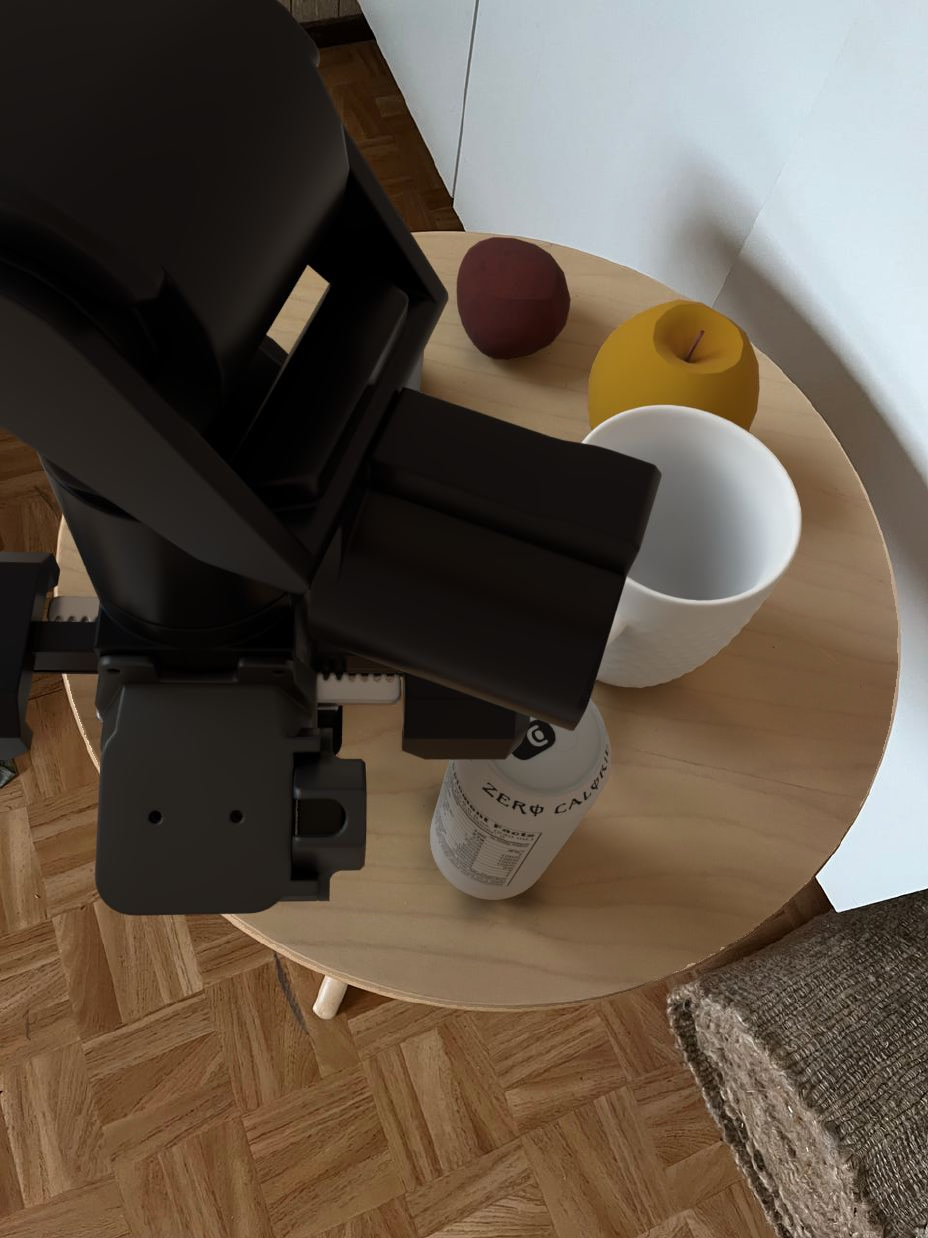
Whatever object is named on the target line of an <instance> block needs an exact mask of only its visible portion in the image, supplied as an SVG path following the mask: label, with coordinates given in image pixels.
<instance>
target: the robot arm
mask: <svg viewBox="0 0 928 1238" xmlns="http://www.w3.org/2000/svg"><path fill="white" fill-rule="evenodd" d="M320 62H321V56H320V50H319V48H318V46H317V43H316V42H315V41H314V39H313V38H312V37H311V36H310V34H309V33H308V32H307V31H306V30H305V29H304V27H303V26H302V25H301V23H299V21H298V19H296V17H294V15H293V14H292V13H291V12H290V10H289V9H288V8H287V7H286V6H285V5H284V4H283V3H281V1H279V0H0V429H2V430H4V431H5V432H6V433H8V434H9V435H10V436H12V437H13V438H15V439H17V440H18V441H20V442H21V443H23V444H24V445H26V446H27V447H28V448H30V449H32V450H33V451H34V452H36V454H37V457H38V459H39V461H40V464H41V466H42V468H43V471H44V473H45V476H46V478H47V480H48V483H49V485H50V488H51V490H52V492H53V494H54V497H55V499H56V502H57V504H58V506H59V509H60V511H61V515H62V516H63V519H64V520H65V523H66V526H67V527H68V530H69V533H70V536H71V537H72V540H73V542H74V544H75V547H76V549H77V552H78V554H79V556H80V559H81V561H82V563H83V566H84V568H85V570H86V573H87V575H88V578H89V580H90V582H91V585H92V587H93V589H94V592H95V594H96V596H91V595H90V596H86V595H85V596H84V595H83V596H82V595H57V596H53V597H52V598H50V600H49V602H48V605H47V612H46V619H47V620H43V619H44V613H45V606H46V602H47V596H48V592H50V591H51V590H53V589H54V588H56V587H58V586H59V582H60V575H61V568H60V565H59V562H58V561H57V559H56V557H55V555H54V553H53V552H42V551H41V552H39V551H37V552H36V551H35V552H33V551H0V761H11V760H13V759H16V758H18V757H20V756H22V755H24V754H26V753H29V752H31V749H32V744H33V738H34V731H33V729H32V728H31V726H30V725H29V723H27V720H26V719H27V712H28V708H29V707H28V706H29V700H30V694H31V688H32V683H33V677H34V675H97V682H96V689H95V697H94V706H95V708H96V710H95V717H96V719H97V721H98V722H99V724H101V733H100V734H101V735H100V742H99V751H100V753H101V754H100V763H99V778H98V779H99V780H98V781H99V782H98V799H97V800H98V802H97V822H96V823H97V825H96V841H95V842H96V843H95V845H96V846H95V865H94V882H95V887H96V890H97V893H98V895H99V897H100V899H101V900H102V902H103V903H104V904H105V905H106V906H107V907H108V908H110V909H111V910H113V911H114V912H117V913H118V914H121V915H125V916H135V917H138V916H139V917H140V916H142V917H143V916H144V917H145V916H148V917H149V916H150V917H151V916H194V915H195V916H198V915H199V916H201V915H205V916H206V915H249V914H250V915H251V914H258V913H262V912H264V911H267V910H269V909H271V908H272V907H274V906H275V905H276V904H277V903H291V902H293V903H294V902H296V903H297V902H303V903H304V902H330V901H331V899H330V898H331V897H330V896H331V879H332V877H333V876H334V875H335V874H337V873H338V872H347V871H349V872H350V871H351V872H352V871H353V872H354V871H361V870H362V869H363V868H364V867H365V866H366V865H365V864H366V853H367V851H366V850H367V828H368V827H367V826H368V825H367V821H368V820H367V819H368V818H367V816H368V815H367V814H368V810H367V809H368V785H367V784H368V783H367V782H368V781H367V764H366V762H365V761H364V760H363V759H362V758H343V757H342V758H341V757H339V756H338V754H339V753H340V751H341V749H342V746H343V731H344V730H343V729H344V728H343V727H344V726H343V725H344V724H343V723H344V707H346V706H347V707H352V706H353V707H394V706H397V705H398V704H400V702H401V699H402V711H403V712H402V728H401V752H403V753H407V754H409V755H412V756H415V757H417V758H419V759H422V760H426V761H427V760H429V761H433V760H434V761H435V760H437V761H439V760H441V761H442V760H443V761H445V760H446V761H447V760H449V761H450V760H505V759H506V758H507V757H508V756H509V755H510V754H511V753H512V752H513V751H514V750H515V749H516V748H517V747H518V746H519V745H520V744H521V743H522V741H523V738H524V736H525V734H526V732H527V730H528V727H529V725H530V717H532V718H535V719H538V720H541V721H544V722H547V723H549V724H552V725H555V726H558V727H561V728H563V729H566V730H569V731H574V729H575V728H576V727H577V725H578V724H579V722H580V720H581V718H582V716H583V715H584V713H585V711H586V708H587V706H588V703H589V700H590V699H591V697H592V694H593V690H594V688H595V685H596V681H597V680H596V678H597V674H598V671H599V668H600V664H601V661H602V658H603V654H604V651H605V648H606V644H607V641H608V638H609V634H610V631H611V628H612V624H613V621H614V618H615V615H616V611H617V608H618V605H619V601H620V598H621V595H622V591H623V588H624V585H625V581H626V578H627V575H628V573H629V571H630V569H631V567H632V565H633V563H634V561H635V559H636V557H637V555H638V553H639V551H640V548H641V545H642V541H643V538H644V535H645V531H646V528H647V525H648V521H649V518H650V515H651V511H652V508H653V504H654V501H655V498H656V494H657V491H658V488H659V484H660V481H661V478H662V473H661V472H660V471H659V469H658V468H657V466H656V465H654V464H652V463H649V462H646V461H643V460H640V459H637V458H634V457H631V456H628V455H625V454H622V453H619V452H616V451H613V450H610V449H607V448H603V447H600V446H596V445H591V444H585V443H582V442H578V441H572V440H566V439H562V438H558V437H555V436H551V435H548V434H544V433H542V432H539V431H536V430H533V429H531V428H527V427H524V426H521V425H518V424H515V423H513V422H509V421H506V420H503V419H501V418H498V417H494V416H493V415H489V414H486V413H483V412H480V411H477V410H475V409H471V408H468V407H465V406H463V405H459V404H456V403H453V402H451V401H448V400H445V399H442V398H440V397H437V396H434V395H431V394H428V393H425V392H421V384H422V383H421V382H422V374H423V366H424V358H425V357H424V356H425V349H426V346H428V343H429V341H430V339H431V337H432V335H433V333H434V330H435V329H436V326H437V324H438V322H439V321H440V318H441V316H442V313H443V312H444V310H445V308H446V305H447V304H448V302H449V298H450V297H449V292H448V290H447V288H446V287H445V285H444V283H443V282H442V280H441V279H440V277H439V275H438V274H437V272H436V271H435V269H434V268H433V266H432V264H431V262H430V260H429V259H428V258H427V256H426V255H425V253H424V250H422V248H421V247H420V245H419V243H418V242H417V240H416V238H415V237H414V235H413V233H412V232H411V230H410V229H409V227H408V225H407V224H406V223H405V221H404V215H403V214H402V213H401V212H400V210H399V209H398V208H397V207H396V206H395V204H394V203H393V201H392V200H391V198H390V197H389V194H388V193H387V191H386V189H384V187H383V185H382V184H381V182H380V181H379V179H378V177H377V176H376V174H375V172H374V170H373V169H372V167H371V166H370V164H369V162H368V161H367V160H366V157H365V156H364V155H363V152H362V151H361V150H360V148H359V146H358V144H357V143H356V141H355V140H354V137H352V135H351V133H350V132H349V130H348V128H347V127H346V125H345V124H344V122H343V120H342V118H341V115H340V113H339V111H338V109H337V107H336V104H335V103H334V101H333V98H332V96H331V94H330V91H329V89H328V87H327V85H326V83H325V80H324V79H323V76H322V74H321V71H320V70H319V68H318V67H319V65H320ZM307 267H309V268H311V269H312V270H313V272H315V273H316V274H318V275H319V276H320V277H321V278H322V279H323V280H324V281H326V283H328V285H327V286H326V288H325V290H324V292H323V294H322V295H321V297H320V298H319V300H318V302H317V304H316V305H315V307H314V309H313V311H312V312H311V314H310V316H309V317H308V319H307V321H306V323H305V325H304V327H303V328H302V330H301V332H300V333H299V335H298V337H297V338H296V341H295V342H294V344H293V346H292V348H291V349H290V351H289V353H288V351H286V350H285V349H284V347H282V346H281V345H280V344H279V343H278V342H277V341H276V340H275V339H274V338H272V337H270V336H269V335H268V333H269V331H270V330H271V327H272V326H273V324H274V322H275V321H276V319H277V318H278V316H279V314H280V313H281V311H282V310H283V308H284V306H285V304H286V303H287V301H288V299H289V298H290V296H291V294H292V292H293V291H294V289H295V288H296V286H297V284H298V282H299V281H300V279H301V278H302V275H304V272H305V271H306V269H307ZM350 677H353V679H351V678H350ZM364 677H365V678H366V679H365V680H364ZM376 678H379V679H378V680H377V679H376ZM389 678H391V680H389ZM401 678H402V679H401Z"/></svg>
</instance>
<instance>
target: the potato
mask: <svg viewBox="0 0 928 1238" xmlns="http://www.w3.org/2000/svg"><path fill="white" fill-rule="evenodd" d="M455 291H456V304H457V305H456V306H457V312H458V315H459V318H460V321H461V324H462V327H463V329H464V331H465V333H466V335H467V337H468V338H469V340H470V341H471V343H472V344H473V345H474V347H476V348H477V350H479V351H480V352H481V353H482V354H483V355H485V356H487V357H489V358H491V359H493V360H501V361H512V360H516V359H521V358H526V357H530V356H531V357H532V356H534V355H535V354H537V353H539V352H540V351H542V350H544V349H546V348H547V347H549V346H551V345H552V344H553V342H554V341H555V340H556V339H557V338H558V337H559V335H560V334H561V333H562V332H563V330H564V329H565V327H566V325H567V322H568V317H569V313H570V309H571V308H570V307H571V300H572V299H571V294H570V291H569V287H568V283H567V279H566V275H565V272H564V270H563V268H561V266H560V265H559V264H558V262H557V261H556V259H555V258H554V257H553V255H552V254H551V253H550V252H548V251H546V250H545V249H543V248H542V247H540V246H539V245H537V244H536V243H532V242H529V241H525V240H522V239H519V238H515V237H505V236H504V237H501V236H495V237H494V236H492V237H488V238H485V239H481V240H480V241H478V242H476V243H475V244H474V245H472V246H471V247H469V248H468V250H467V251H466V253H465V255H464V256H463V258H462V260H461V263H460V266H459V267H458V273H457V278H456V289H455Z"/></svg>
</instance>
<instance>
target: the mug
mask: <svg viewBox="0 0 928 1238" xmlns="http://www.w3.org/2000/svg"><path fill="white" fill-rule="evenodd" d="M581 443H585V444H591V445H596V446H600V447H603V448H607V449H610V450H613V451H616V452H619V453H622V454H625V455H628V456H631V457H634V458H637V459H640V460H643V461H646V462H649V463H652V464H654V465H656V466H657V468H658V469H659V471H660V472H661V473H662V478H661V481H660V484H659V488H658V491H657V494H656V498H655V501H654V504H653V508H652V511H651V515H650V518H649V521H648V525H647V528H646V531H645V535H644V538H643V541H642V545H641V548H640V551H639V553H638V555H637V557H636V559H635V561H634V563H633V565H632V567H631V569H630V571H629V573H628V575H627V578H626V581H625V585H624V588H623V591H622V595H621V598H620V601H619V605H618V608H617V611H616V615H615V618H614V621H613V624H612V628H611V631H610V634H609V638H608V641H607V644H606V648H605V651H604V654H603V658H602V661H601V664H600V668H599V671H598V674H597V678H596V681H598V682H601V683H604V684H607V685H611V686H616V687H623V688H637V689H643V688H645V687H655V686H657V685H660V684H665V683H669V682H671V681H673V680H675V679H680V678H681V677H683V676H684V675H686V674H688V673H692V672H693V671H694V670H695V669H697V668H698V667H700V666H703V665H705V664H706V662H707V661H709V660H710V659H711V658H714V657H715V656H717V655H718V653H719V652H720V651H721V650H722V649H723V648H725V647H727V646H729V644H730V642H731V641H732V640H733V638H735V637H737V636H738V635H739V634H740V633H741V630H742V629H743V627H744V626H746V625H747V624H748V623H750V622H751V620H752V617H754V615H755V614H756V612H757V611H759V610H760V609H761V607H762V605H763V603H764V601H765V600H766V599H768V598H769V597H770V596H771V594H772V592H773V590H774V589H775V587H776V586H777V585H778V583H779V582H780V580H781V579H782V578H783V577H784V576H785V574H786V573H787V571H788V569H789V568H790V567H791V564H792V562H793V560H794V558H795V557H796V554H797V552H798V549H799V545H800V540H801V537H802V527H803V525H802V524H803V519H802V518H803V517H802V509H801V504H800V499H799V495H798V493H797V490H796V487H795V484H794V483H793V480H792V478H791V476H790V475H789V473H788V471H787V470H786V468H785V467H784V466H783V464H782V463H781V461H780V460H779V459H778V458H777V456H776V455H775V453H773V452H772V450H770V449H769V448H768V446H766V445H765V444H764V443H763V442H762V441H761V440H760V439H759V438H758V437H756V436H755V435H753V434H751V433H750V432H749V431H748V432H747V431H746V430H744V429H743V428H741V427H739V426H737V425H736V424H734V423H732V422H730V421H728V420H726V419H724V418H722V417H719V416H717V415H714V414H711V413H709V412H705V411H702V410H698V409H694V408H689V407H684V406H675V405H654V406H645V407H639V408H635V409H631V410H628V411H625V412H622V413H620V414H617V415H615V416H613V417H611V418H609V419H608V420H606V421H604V422H603V423H601V424H600V425H599V426H597V427H596V428H595V429H594V430H593V431H592V430H591V431H590V432H589V434H587V435H586V437H584V439H583V440H582V441H581Z"/></svg>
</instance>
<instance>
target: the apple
mask: <svg viewBox="0 0 928 1238" xmlns="http://www.w3.org/2000/svg"><path fill="white" fill-rule="evenodd" d="M757 358H758V357H757V356H756V352H755V350H754V348H753V345H752V343H751V341H750V339H749V337H748V334H747V332H746V331H745V330H744V329H743V328H741V326H739V325H738V324H737V323H736V322H735V321H734V320H732V318H730V317H728V316H726V315H724V314H722V313H721V312H719V311H717V310H715V309H714V308H712V307H710V306H709V305H707V304H705V303H704V302H700V301H694V300H686V299H675V300H671V301H667V302H664V303H660V304H657V305H655V306H652V307H650V308H648V309H645V310H643V311H641V312H638V313H636V314H633V316H631V317H629V318H628V319H627V320H625V321H624V322H622V323H621V324H619V325H618V326H617V327H616V328H615V329H614V330H613V331H612V332H611V333H610V334H609V336H608V337H607V338H606V340H605V341H604V342H603V344H602V345H601V347H600V349H599V351H598V353H597V355H596V357H595V359H594V361H593V363H592V366H591V370H590V374H589V378H588V400H587V402H588V403H587V410H588V417H589V424H590V429H591V432H592V431H593V430H594V429H595V428H596V427H597V426H599V425H600V424H601V423H603V422H604V421H606V420H608V419H609V418H611V417H613V416H615V415H617V414H620V413H622V412H625V411H628V410H631V409H635V408H639V407H645V406H654V405H675V406H684V407H689V408H694V409H698V410H702V411H705V412H709V413H711V414H714V415H717V416H719V417H722V418H724V419H726V420H728V421H730V422H732V423H734V424H736V425H737V426H739V427H741V428H743V429H744V430H746V431H747V432H749V431H750V429H751V427H752V424H753V423H754V419H755V417H756V415H757V412H758V406H759V397H760V364H759V362H758V359H757Z"/></svg>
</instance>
